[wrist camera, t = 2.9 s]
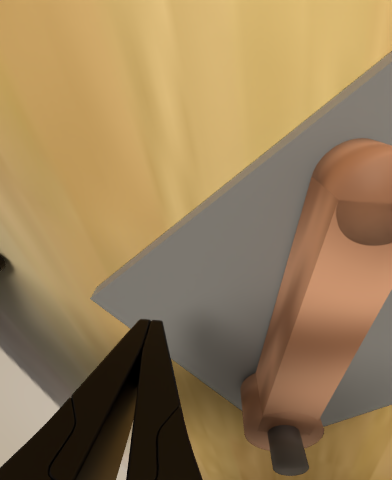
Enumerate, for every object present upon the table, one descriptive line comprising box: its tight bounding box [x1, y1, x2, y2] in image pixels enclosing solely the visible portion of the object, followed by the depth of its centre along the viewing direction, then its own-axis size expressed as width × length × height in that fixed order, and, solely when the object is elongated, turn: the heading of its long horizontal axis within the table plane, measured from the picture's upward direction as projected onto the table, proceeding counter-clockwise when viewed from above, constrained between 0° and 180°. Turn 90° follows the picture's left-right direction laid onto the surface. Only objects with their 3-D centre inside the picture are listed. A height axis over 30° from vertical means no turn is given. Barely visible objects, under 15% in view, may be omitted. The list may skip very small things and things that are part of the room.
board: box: [90, 51, 392, 427], centre depth 15 cm, size 19×19×1 cm
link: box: [240, 138, 392, 476], centre depth 12 cm, size 18×4×4 cm, turn 176°
